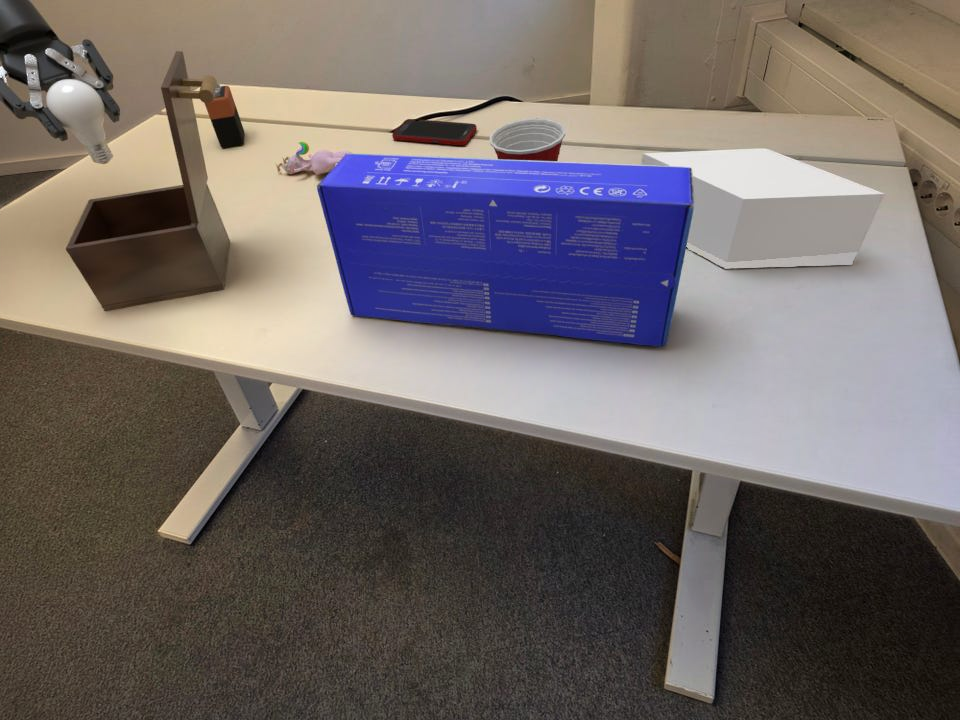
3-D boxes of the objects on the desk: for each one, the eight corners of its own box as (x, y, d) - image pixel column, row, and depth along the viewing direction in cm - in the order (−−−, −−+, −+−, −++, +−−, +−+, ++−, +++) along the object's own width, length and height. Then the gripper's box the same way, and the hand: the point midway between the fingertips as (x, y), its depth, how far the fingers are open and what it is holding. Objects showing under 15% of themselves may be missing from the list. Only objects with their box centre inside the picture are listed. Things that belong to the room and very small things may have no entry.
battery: (221, 149, 115) (201, 95, 108) (222, 135, 120) (203, 83, 113) (244, 145, 116) (226, 92, 109) (244, 131, 121) (227, 79, 114)
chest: (104, 311, 81) (65, 249, 74) (122, 259, 90) (88, 199, 83) (224, 289, 83) (196, 226, 76) (230, 240, 91) (206, 180, 85)
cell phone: (407, 123, 119) (406, 118, 118) (478, 128, 115) (477, 123, 114) (391, 140, 113) (390, 135, 113) (465, 146, 110) (464, 141, 109)
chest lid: (160, 87, 64) (206, 88, 66) (175, 50, 73) (216, 52, 75) (191, 223, 75) (231, 223, 76) (201, 177, 84) (236, 178, 85)
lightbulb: (92, 178, 81) (46, 94, 73) (73, 165, 84) (27, 83, 76) (137, 160, 84) (98, 78, 76) (117, 148, 87) (78, 68, 80)
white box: (648, 196, 94) (658, 131, 86) (857, 237, 83) (888, 166, 76) (617, 245, 85) (625, 177, 77) (846, 297, 74) (880, 224, 67)
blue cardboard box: (666, 305, 75) (694, 165, 62) (665, 351, 69) (696, 206, 56) (371, 278, 82) (342, 148, 70) (348, 317, 77) (312, 183, 64)
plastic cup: (499, 188, 98) (496, 114, 90) (566, 191, 96) (569, 116, 88) (486, 224, 91) (481, 147, 82) (558, 228, 89) (561, 150, 80)
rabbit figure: (277, 185, 106) (352, 178, 101) (262, 153, 102) (339, 144, 97) (294, 169, 110) (366, 161, 105) (280, 137, 107) (354, 128, 102)
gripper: (-68, 9, 70) (32, 132, 73) (57, -20, 78) (144, 93, 80) (-53, 50, 76) (38, 163, 79) (62, 20, 84) (141, 124, 86)
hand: (91, 127), depth 79 cm, fingers closed on lightbulb, 6 cm apart
